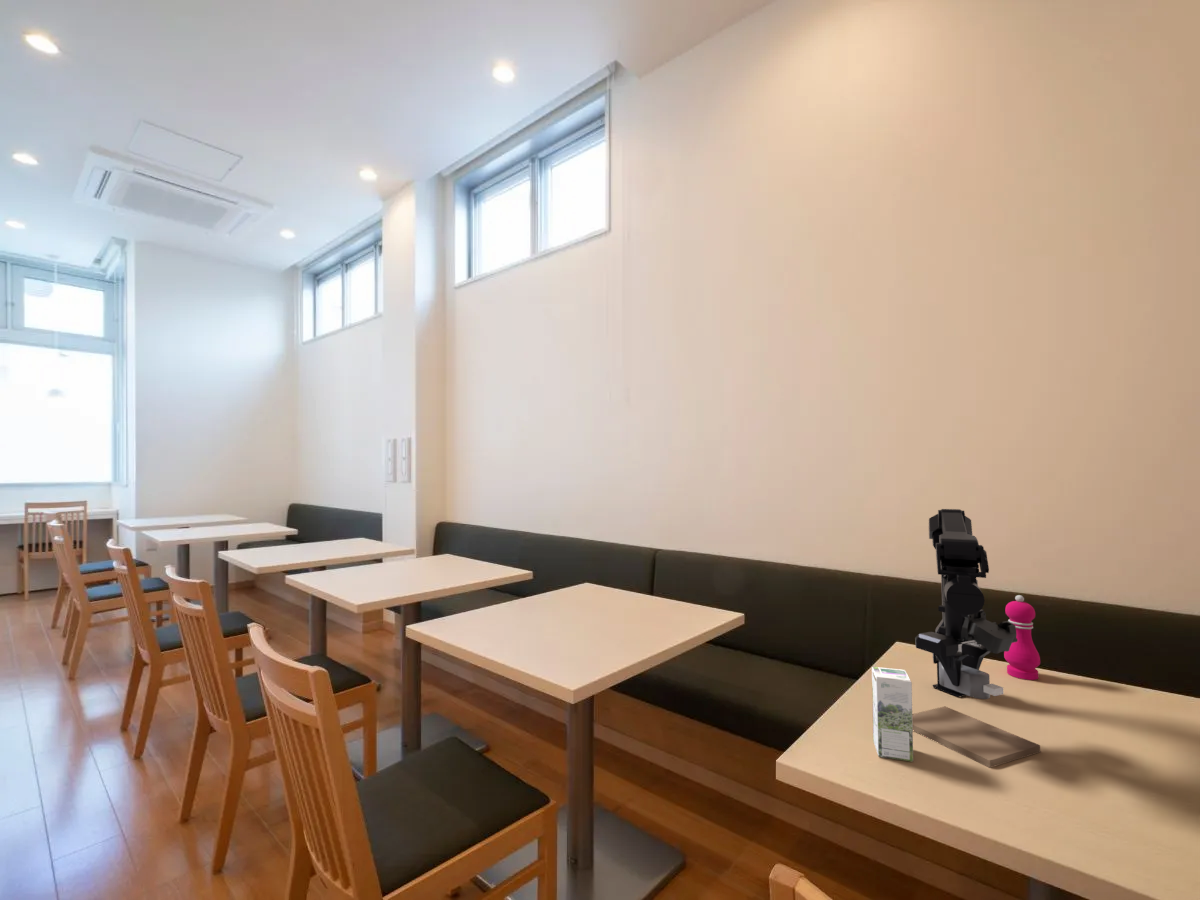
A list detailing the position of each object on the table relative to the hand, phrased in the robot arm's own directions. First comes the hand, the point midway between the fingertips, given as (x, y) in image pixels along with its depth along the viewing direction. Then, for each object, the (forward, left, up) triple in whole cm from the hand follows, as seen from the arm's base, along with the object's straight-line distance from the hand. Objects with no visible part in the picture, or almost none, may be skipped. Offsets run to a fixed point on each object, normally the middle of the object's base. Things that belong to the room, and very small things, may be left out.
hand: (963, 684), depth 105 cm
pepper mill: (-16, +45, -10) cm, 49 cm away
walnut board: (0, 0, -10) cm, 10 cm away
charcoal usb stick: (0, 0, -1) cm, 1 cm away
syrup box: (-1, -18, -10) cm, 21 cm away
